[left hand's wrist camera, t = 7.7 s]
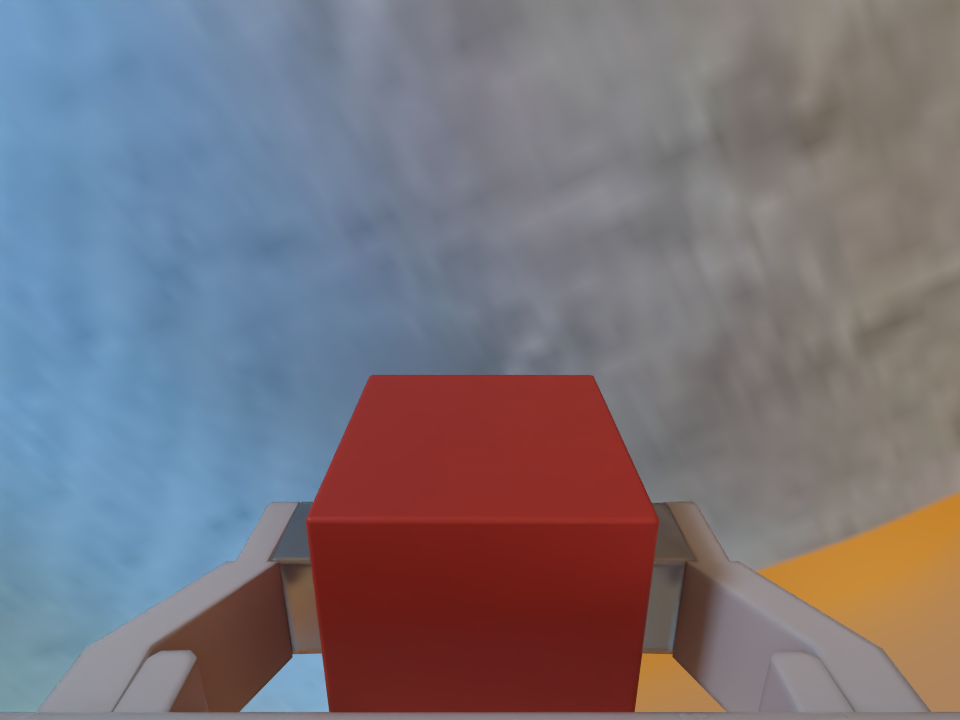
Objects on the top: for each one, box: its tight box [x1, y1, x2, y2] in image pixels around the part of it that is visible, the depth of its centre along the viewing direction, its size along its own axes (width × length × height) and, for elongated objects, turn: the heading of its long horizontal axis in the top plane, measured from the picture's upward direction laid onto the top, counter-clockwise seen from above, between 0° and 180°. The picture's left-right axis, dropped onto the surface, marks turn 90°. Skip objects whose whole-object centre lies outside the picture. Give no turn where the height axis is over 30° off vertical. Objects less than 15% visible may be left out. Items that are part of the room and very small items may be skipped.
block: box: [305, 375, 659, 712], centre depth 10 cm, size 5×4×5 cm
